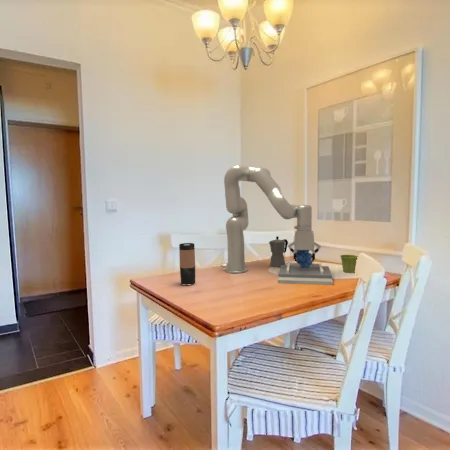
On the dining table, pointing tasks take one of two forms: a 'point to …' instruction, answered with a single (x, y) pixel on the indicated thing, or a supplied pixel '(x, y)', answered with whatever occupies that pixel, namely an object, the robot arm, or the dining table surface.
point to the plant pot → (348, 262)
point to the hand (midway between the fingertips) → (304, 260)
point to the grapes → (303, 258)
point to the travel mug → (187, 263)
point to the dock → (305, 274)
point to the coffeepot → (278, 252)
